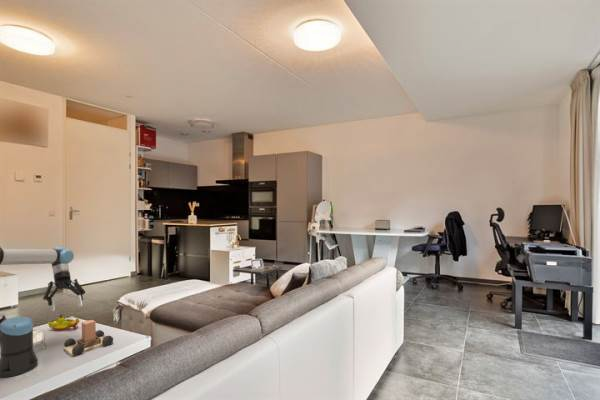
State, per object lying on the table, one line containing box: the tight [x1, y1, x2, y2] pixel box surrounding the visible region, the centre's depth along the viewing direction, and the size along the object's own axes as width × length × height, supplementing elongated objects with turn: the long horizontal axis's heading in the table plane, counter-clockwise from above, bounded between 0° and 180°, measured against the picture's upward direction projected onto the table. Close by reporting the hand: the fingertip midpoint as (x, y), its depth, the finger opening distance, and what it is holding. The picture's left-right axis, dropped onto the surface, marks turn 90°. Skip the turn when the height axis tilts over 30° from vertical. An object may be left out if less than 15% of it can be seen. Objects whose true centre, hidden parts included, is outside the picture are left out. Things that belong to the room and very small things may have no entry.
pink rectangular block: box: [81, 319, 97, 343], centre depth 177 cm, size 5×5×12 cm
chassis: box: [63, 329, 114, 358], centre depth 177 cm, size 20×14×5 cm
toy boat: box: [47, 313, 80, 331], centre depth 203 cm, size 6×18×10 cm, turn 89°
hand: (67, 308), depth 179 cm, fingers open, 13 cm apart
